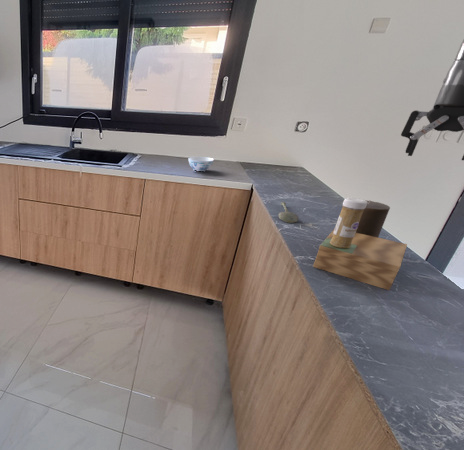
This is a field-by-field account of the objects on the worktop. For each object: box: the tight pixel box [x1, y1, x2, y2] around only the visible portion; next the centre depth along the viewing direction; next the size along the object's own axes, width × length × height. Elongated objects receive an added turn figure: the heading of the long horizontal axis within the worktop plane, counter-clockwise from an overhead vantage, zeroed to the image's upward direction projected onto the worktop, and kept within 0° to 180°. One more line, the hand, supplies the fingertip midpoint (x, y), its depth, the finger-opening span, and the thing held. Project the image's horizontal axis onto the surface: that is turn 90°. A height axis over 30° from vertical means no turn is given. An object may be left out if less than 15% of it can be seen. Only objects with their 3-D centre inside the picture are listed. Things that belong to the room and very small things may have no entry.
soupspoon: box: [278, 201, 299, 224], centre depth 128 cm, size 22×3×7 cm
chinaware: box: [187, 156, 215, 172], centre depth 198 cm, size 15×15×8 cm
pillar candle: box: [356, 199, 391, 238], centre depth 100 cm, size 10×10×15 cm
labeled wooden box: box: [312, 227, 408, 291], centre depth 88 cm, size 16×18×7 cm
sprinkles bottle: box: [330, 197, 368, 248], centre depth 84 cm, size 5×5×13 cm
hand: (435, 157), depth 73 cm, fingers open, 8 cm apart
